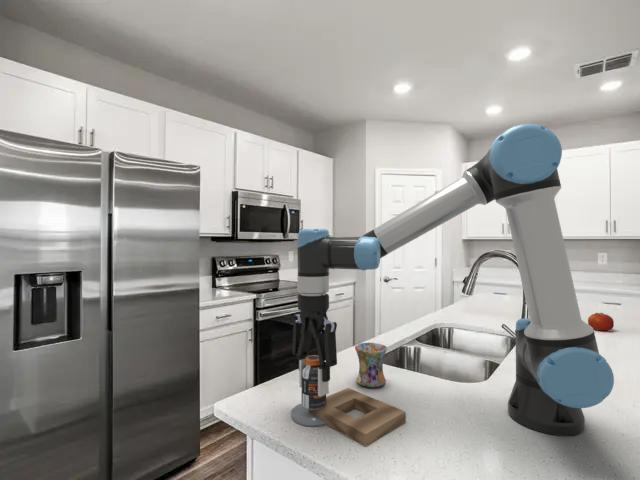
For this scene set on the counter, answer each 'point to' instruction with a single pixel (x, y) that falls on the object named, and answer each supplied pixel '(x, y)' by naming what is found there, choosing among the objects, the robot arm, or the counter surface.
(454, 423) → the counter surface
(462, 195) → the robot arm
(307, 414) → the coaster
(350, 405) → the socket block
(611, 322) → the tomato
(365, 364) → the mug
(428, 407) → the counter surface
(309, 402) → the pill bottle
